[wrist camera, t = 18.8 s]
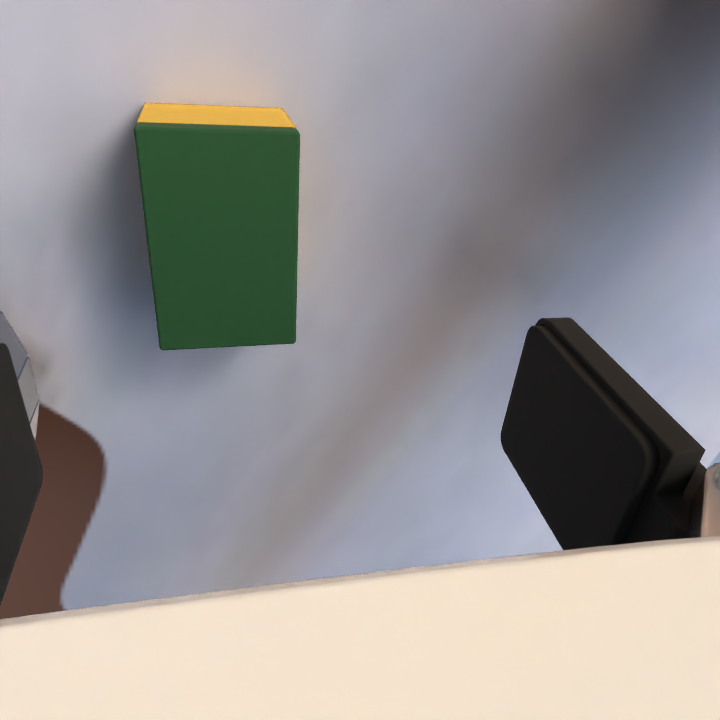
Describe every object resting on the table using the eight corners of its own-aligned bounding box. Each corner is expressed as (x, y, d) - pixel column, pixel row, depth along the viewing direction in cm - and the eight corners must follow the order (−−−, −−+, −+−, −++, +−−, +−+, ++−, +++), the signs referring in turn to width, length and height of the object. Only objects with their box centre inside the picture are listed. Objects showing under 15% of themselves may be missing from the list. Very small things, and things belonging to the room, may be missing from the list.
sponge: (144, 102, 19) (133, 126, 16) (283, 107, 20) (300, 132, 17) (165, 298, 23) (159, 351, 19) (282, 294, 24) (295, 344, 21)
